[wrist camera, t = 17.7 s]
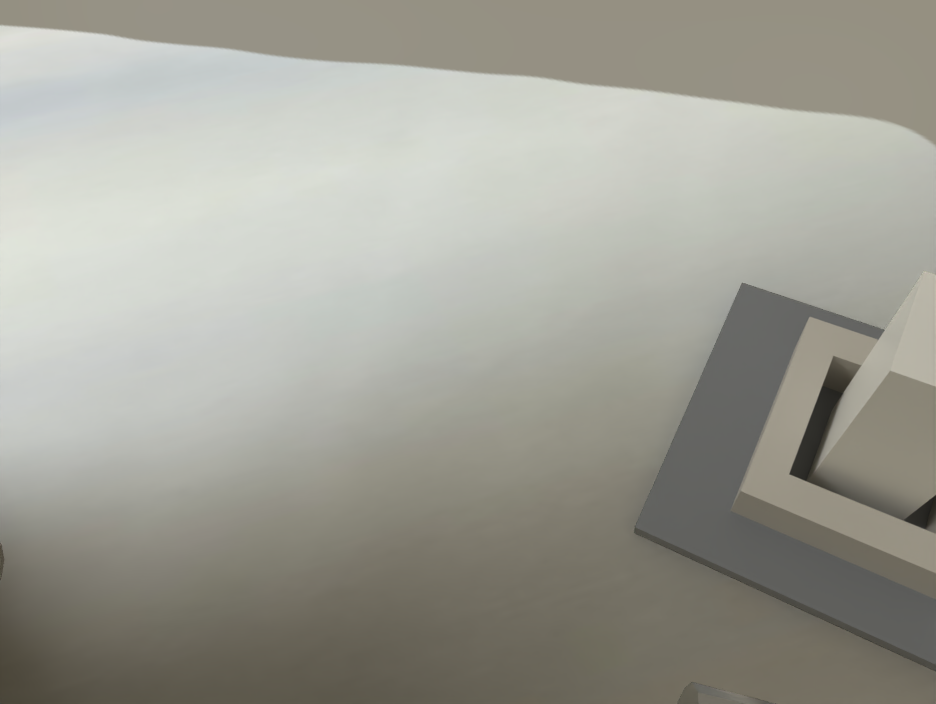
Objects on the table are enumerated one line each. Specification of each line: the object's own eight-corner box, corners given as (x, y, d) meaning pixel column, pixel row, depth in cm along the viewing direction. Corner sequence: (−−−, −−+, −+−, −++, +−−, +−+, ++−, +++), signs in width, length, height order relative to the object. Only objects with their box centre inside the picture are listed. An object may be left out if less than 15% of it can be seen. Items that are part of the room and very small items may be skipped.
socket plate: (633, 532, 37) (637, 508, 33) (739, 292, 41) (751, 249, 38) (1015, 707, 31) (1067, 701, 28) (1085, 409, 36) (1137, 371, 32)
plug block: (804, 485, 35) (907, 347, 23) (831, 410, 37) (942, 243, 25) (898, 524, 34) (1058, 398, 22) (923, 444, 35) (1087, 285, 23)
